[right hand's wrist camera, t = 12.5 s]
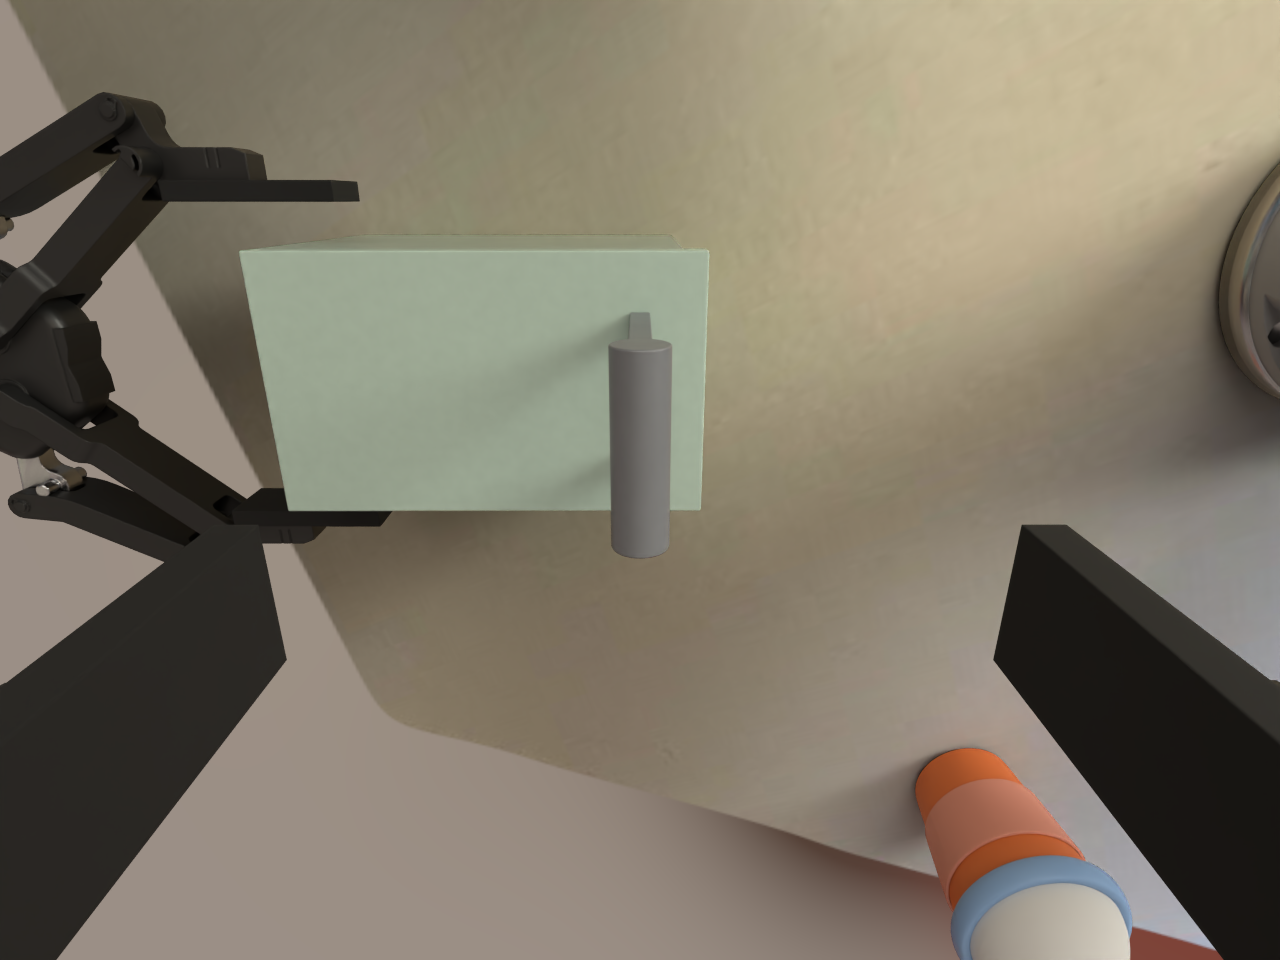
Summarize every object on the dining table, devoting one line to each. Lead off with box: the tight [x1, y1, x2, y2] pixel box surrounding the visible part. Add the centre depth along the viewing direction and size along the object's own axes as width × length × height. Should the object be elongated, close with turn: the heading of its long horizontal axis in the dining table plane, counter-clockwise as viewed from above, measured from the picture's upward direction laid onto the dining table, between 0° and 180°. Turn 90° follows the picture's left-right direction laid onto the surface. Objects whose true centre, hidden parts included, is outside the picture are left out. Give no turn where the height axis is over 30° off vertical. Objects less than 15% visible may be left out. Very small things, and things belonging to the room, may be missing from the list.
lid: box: [239, 249, 709, 558], centre depth 23 cm, size 16×10×9 cm, turn 90°
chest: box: [257, 235, 683, 249], centre depth 32 cm, size 15×10×11 cm, turn 90°
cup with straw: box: [915, 748, 1132, 960], centre depth 39 cm, size 9×9×18 cm
